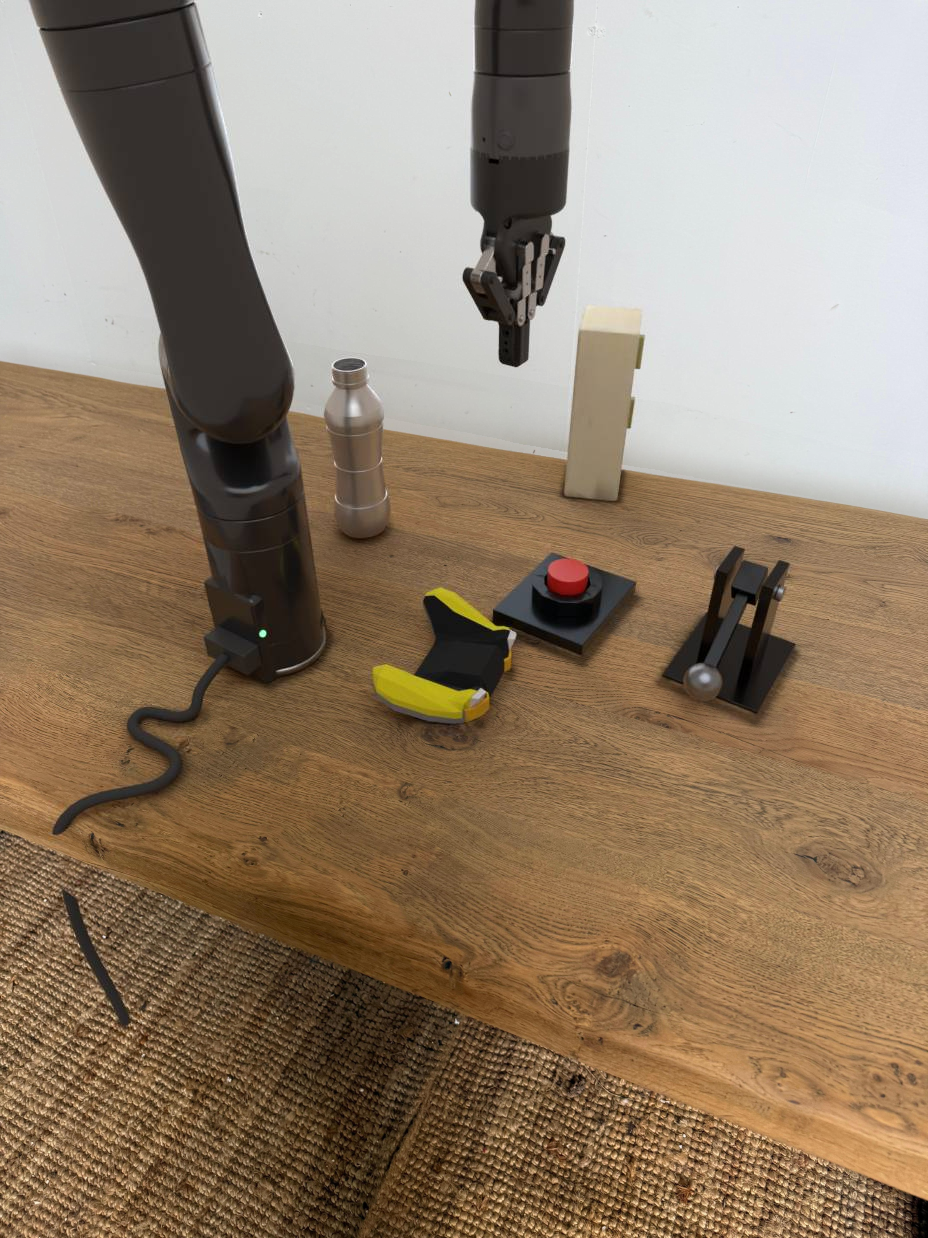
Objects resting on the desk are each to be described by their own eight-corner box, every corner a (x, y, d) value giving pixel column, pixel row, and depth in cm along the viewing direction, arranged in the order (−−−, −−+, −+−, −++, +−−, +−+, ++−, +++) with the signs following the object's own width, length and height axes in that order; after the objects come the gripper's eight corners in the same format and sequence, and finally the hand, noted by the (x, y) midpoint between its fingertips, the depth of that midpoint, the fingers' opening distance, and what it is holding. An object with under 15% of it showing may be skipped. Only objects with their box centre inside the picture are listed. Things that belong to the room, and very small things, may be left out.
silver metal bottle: (326, 538, 99) (304, 372, 87) (353, 509, 104) (337, 348, 92) (376, 550, 97) (361, 381, 85) (401, 520, 102) (391, 356, 90)
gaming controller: (365, 721, 77) (470, 752, 74) (360, 676, 73) (470, 706, 70) (432, 622, 87) (526, 645, 85) (431, 578, 84) (528, 600, 81)
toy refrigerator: (623, 503, 105) (645, 333, 92) (563, 497, 106) (576, 328, 93) (627, 471, 111) (648, 307, 98) (570, 466, 112) (583, 303, 99)
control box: (580, 662, 82) (584, 630, 80) (492, 626, 87) (492, 595, 84) (634, 598, 90) (638, 567, 88) (550, 568, 95) (552, 537, 92)
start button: (575, 601, 84) (576, 586, 83) (539, 587, 86) (540, 573, 85) (594, 580, 87) (595, 566, 86) (559, 567, 88) (560, 553, 87)
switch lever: (714, 711, 73) (712, 699, 71) (678, 697, 75) (675, 684, 72) (773, 583, 77) (774, 567, 74) (738, 571, 78) (737, 555, 75)
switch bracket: (755, 721, 76) (785, 617, 69) (660, 683, 80) (679, 581, 73) (793, 652, 83) (824, 551, 76) (704, 620, 87) (725, 521, 80)
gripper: (521, 122, 71) (515, 331, 82) (428, 150, 62) (435, 379, 73) (604, 131, 68) (586, 347, 79) (517, 162, 59) (510, 400, 70)
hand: (513, 362), depth 76 cm, fingers closed
